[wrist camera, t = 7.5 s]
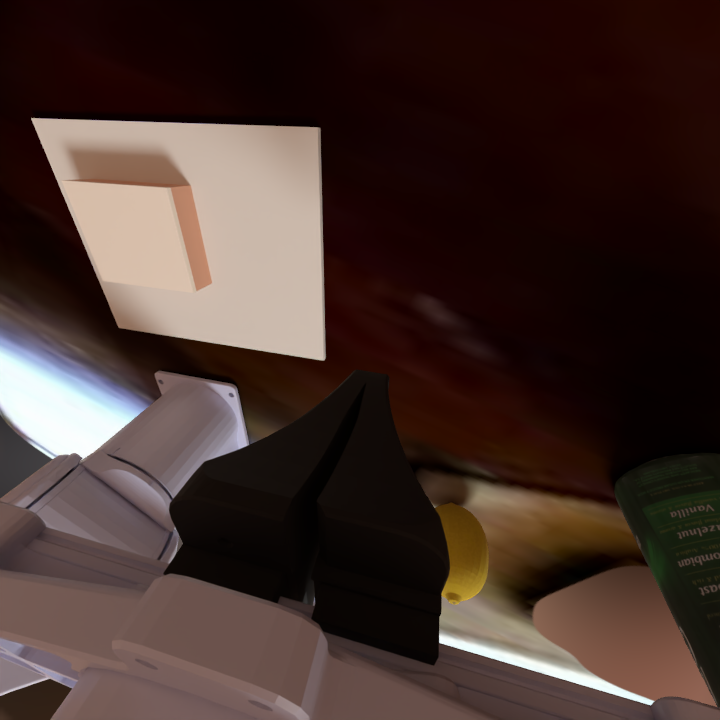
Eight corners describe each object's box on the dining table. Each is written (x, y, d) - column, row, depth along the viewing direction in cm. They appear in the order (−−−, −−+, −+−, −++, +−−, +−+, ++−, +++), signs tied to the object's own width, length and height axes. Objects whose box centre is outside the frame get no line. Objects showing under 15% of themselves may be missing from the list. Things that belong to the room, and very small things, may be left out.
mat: (325, 357, 24) (323, 360, 23) (122, 325, 27) (118, 327, 26) (320, 127, 16) (317, 127, 16) (38, 119, 19) (30, 118, 19)
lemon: (467, 528, 31) (473, 629, 24) (413, 509, 31) (405, 602, 24) (494, 498, 28) (510, 603, 21) (434, 476, 28) (431, 573, 21)
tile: (193, 293, 20) (102, 280, 22) (212, 283, 22) (126, 272, 23) (166, 187, 17) (61, 180, 18) (190, 185, 19) (93, 178, 20)
